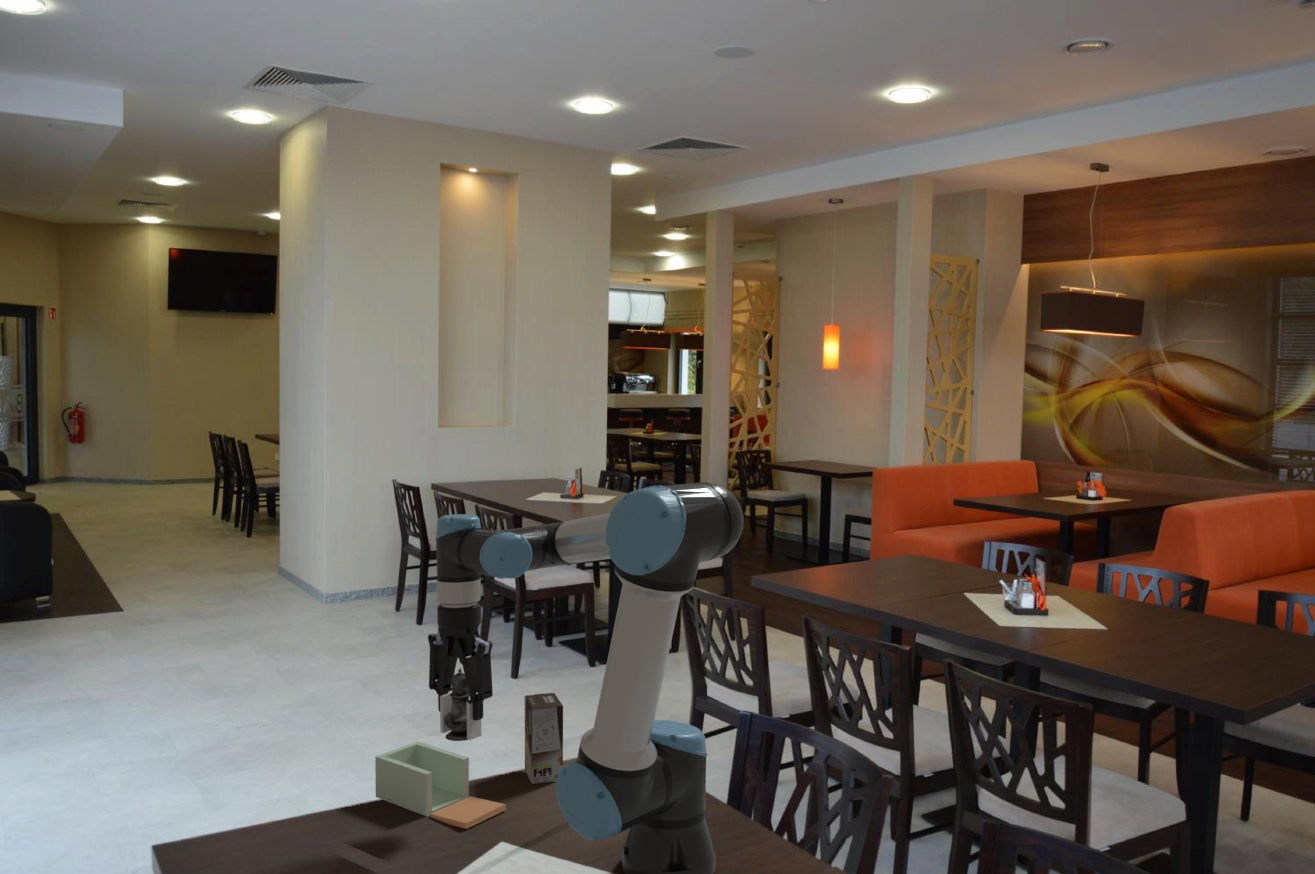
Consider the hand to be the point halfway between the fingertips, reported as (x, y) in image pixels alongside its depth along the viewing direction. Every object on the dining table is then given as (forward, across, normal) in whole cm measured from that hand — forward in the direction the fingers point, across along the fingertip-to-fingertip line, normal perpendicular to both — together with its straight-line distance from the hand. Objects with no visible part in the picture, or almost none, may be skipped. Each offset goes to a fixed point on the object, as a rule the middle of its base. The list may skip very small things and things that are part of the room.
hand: (460, 733), depth 174 cm
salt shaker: (+1, 0, 0) cm, 1 cm away
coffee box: (+16, +1, -23) cm, 29 cm away
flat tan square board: (+15, +4, -2) cm, 15 cm away
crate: (+16, +12, -2) cm, 20 cm away
